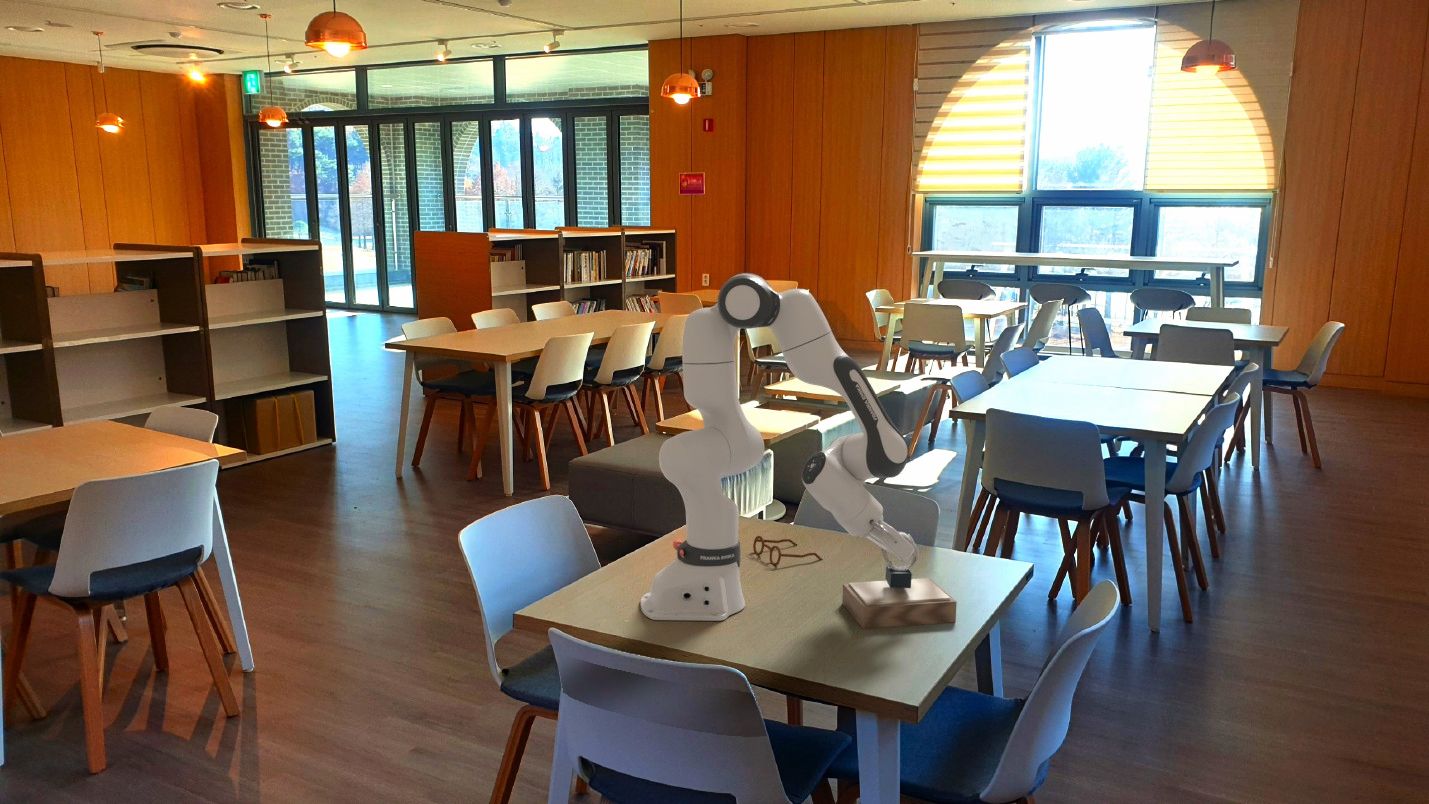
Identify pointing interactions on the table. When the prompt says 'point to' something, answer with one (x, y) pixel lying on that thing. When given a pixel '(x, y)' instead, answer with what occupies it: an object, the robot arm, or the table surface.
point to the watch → (900, 567)
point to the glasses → (778, 549)
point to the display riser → (898, 603)
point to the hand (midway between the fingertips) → (902, 556)
